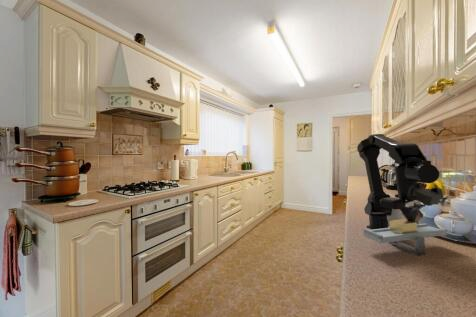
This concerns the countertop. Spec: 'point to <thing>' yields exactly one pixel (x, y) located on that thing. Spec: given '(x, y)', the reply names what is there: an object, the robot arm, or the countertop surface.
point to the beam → (389, 236)
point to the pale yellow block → (403, 226)
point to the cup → (395, 215)
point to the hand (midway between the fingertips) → (412, 225)
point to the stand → (417, 250)
